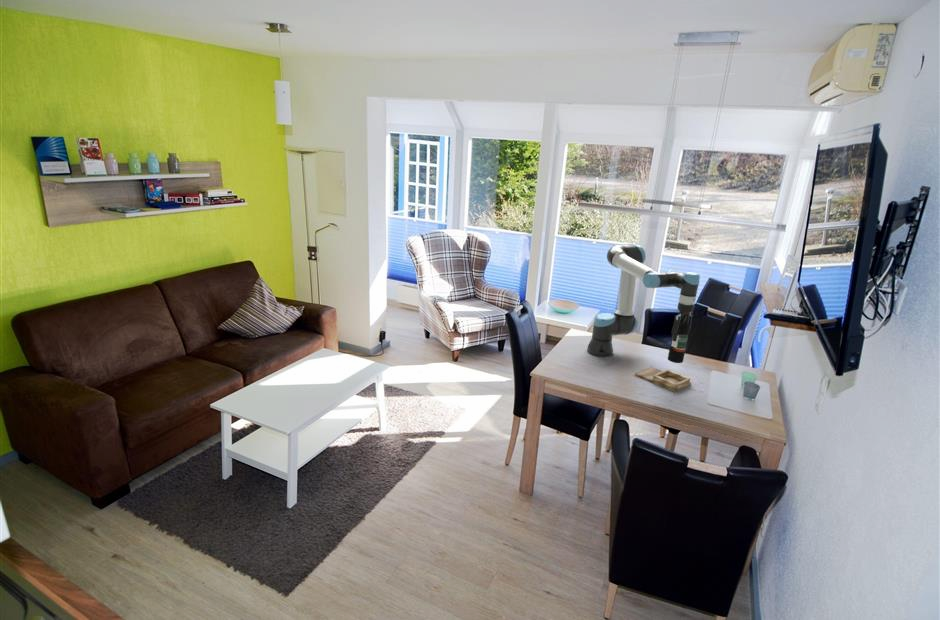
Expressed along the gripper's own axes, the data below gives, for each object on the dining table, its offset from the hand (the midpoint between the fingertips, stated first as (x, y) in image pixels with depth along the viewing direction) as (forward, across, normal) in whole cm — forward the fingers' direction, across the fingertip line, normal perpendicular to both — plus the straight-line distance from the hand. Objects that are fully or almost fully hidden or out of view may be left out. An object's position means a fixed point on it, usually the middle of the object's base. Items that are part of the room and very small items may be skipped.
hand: (678, 344), depth 262 cm
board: (+22, 0, +5) cm, 23 cm away
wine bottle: (+9, 0, 0) cm, 9 cm away
